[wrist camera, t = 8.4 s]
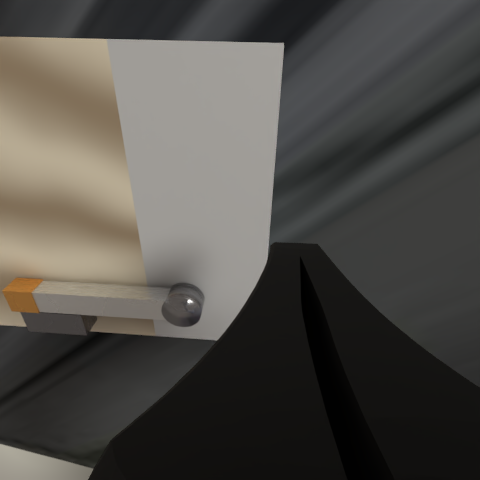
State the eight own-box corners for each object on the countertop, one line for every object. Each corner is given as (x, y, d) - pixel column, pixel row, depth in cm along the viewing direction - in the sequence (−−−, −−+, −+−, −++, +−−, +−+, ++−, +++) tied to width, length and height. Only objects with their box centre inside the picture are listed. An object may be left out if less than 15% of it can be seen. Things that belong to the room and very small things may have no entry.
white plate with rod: (261, 327, 24) (260, 343, 23) (161, 320, 24) (155, 336, 23) (282, 43, 15) (284, 43, 13) (120, 39, 15) (106, 39, 14)
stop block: (97, 318, 23) (87, 335, 21) (42, 315, 23) (28, 331, 21) (91, 299, 22) (80, 315, 20) (34, 295, 22) (19, 311, 21)
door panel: (161, 320, 24) (155, 336, 23) (2, 309, 25) (-12, 324, 24) (120, 39, 15) (106, 39, 14) (-133, 33, 16) (-169, 32, 14)
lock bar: (203, 283, 20) (199, 299, 19) (205, 312, 21) (201, 328, 20) (14, 272, 21) (-1, 286, 19) (27, 301, 22) (13, 315, 21)
